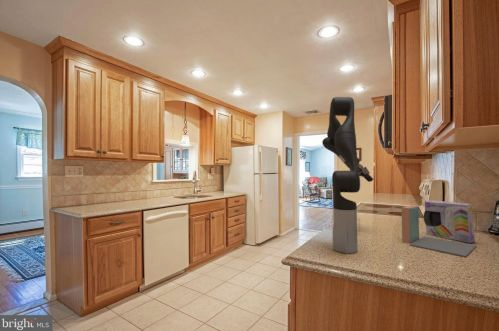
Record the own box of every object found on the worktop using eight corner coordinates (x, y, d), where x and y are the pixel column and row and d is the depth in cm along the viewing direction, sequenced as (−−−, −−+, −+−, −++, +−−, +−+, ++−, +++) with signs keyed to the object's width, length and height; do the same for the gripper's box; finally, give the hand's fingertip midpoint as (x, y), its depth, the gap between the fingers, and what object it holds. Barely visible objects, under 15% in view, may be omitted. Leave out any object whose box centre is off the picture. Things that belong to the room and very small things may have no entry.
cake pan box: (423, 233, 123) (422, 200, 123) (429, 232, 125) (428, 199, 125) (469, 244, 105) (468, 204, 105) (475, 242, 107) (474, 203, 107)
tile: (410, 243, 106) (409, 208, 107) (402, 241, 109) (401, 207, 109) (419, 238, 114) (418, 205, 114) (411, 237, 116) (410, 204, 117)
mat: (465, 257, 89) (465, 255, 89) (409, 245, 103) (409, 244, 103) (476, 246, 101) (476, 245, 101) (424, 237, 116) (424, 236, 116)
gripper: (347, 153, 130) (370, 176, 120) (359, 154, 139) (381, 175, 129) (338, 163, 134) (360, 185, 124) (351, 163, 143) (372, 184, 133)
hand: (371, 180), depth 126 cm, fingers closed
